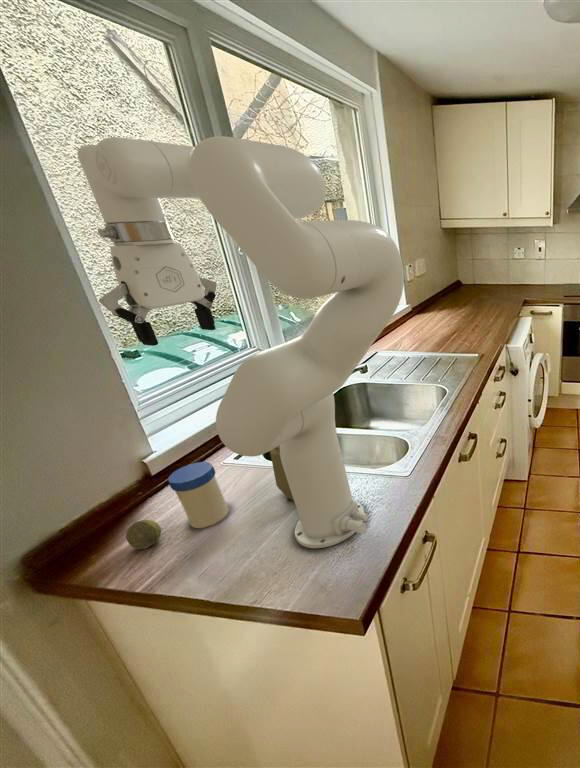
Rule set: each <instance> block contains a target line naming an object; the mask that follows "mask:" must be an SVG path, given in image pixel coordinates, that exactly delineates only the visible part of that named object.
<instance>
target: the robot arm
mask: <svg viewBox="0 0 580 768" xmlns="http://www.w3.org/2000/svg"><path fill="white" fill-rule="evenodd" d="M77 159H78V161H79V164H80V166H81V168H82V171H83V173H84V176H85V178H86V181H87V183H88V186H89V189H90V190H91V193H92V195H93V197H94V200H95V202H96V204H97V207H98V210H99V212H100V214H101V217H102V219H103V221H104V224H103V225H104V227H103V228H97V233H98V235H99V237H100V238H102V239H109V240H110V241H111V242H112V244H113V245H110V246H109V249H110V257H111V263H112V268H113V270H114V274H115V277H116V281H117V284H118V285H117V286H115V287H114V288H113V289H111V290H110V291H108V292H107V293H105V294H104V295H103V296H101V297H100V298H99V299H98V303H99V304H101V305H102V306H103V307H104V308H105V309H107V310H108V311H109V312H111V314H113V315H114V316H115V317H117V318H119V319H122V320H124V321H125V322H127V323H130V324H131V326H132V329H133V331H134V333H135V336H136V338H137V340H138V341H139V343H140V342H141V343H142V345H143V346H151V347H154V346H158V344H159V341H158V338H157V336H156V334H155V331H154V329H153V328H154V327H153V326H152V324H151V322H150V321H146V318H147V316H148V314H149V312H150V310H151V309H152V310H153V309H162V308H166V307H173V306H176V305H177V306H179V305H182V304H183V305H184V304H187V303H191V304H192V305H193V306H195V307H196V308H194V314H195V316H196V319H197V322H198V324H199V327H200V329H201V330H203V331H214V330H215V331H216V326H215V323H216V322H215V319H214V316H213V313H212V310H211V309H212V308H213V302H214V300H215V299H216V292H217V285H218V284H217V281H215V280H211V279H209V278H205V277H202V276H199V274H198V272H197V270H196V267H195V265H194V263H193V260H192V259H191V258H190V256H189V253H188V252H187V250H186V249H185V247H184V246H183V244H182V243H181V241H175V239H174V236H173V233H172V231H171V228H170V225H169V222H168V219H167V216H166V214H165V211H164V208H163V206H162V202H161V200H160V199H189V200H190V199H191V200H200V202H201V203H202V205H203V206H204V207H205V209H206V210H207V212H208V213H209V215H211V217H213V219H214V221H216V222H217V224H218V225H219V226H220V227H221V229H223V231H224V232H225V233H226V234H227V235H228V236H229V238H230V239H231V240H232V241H233V242H234V243H235V245H236V246H237V247H238V248H239V249H240V250H241V252H243V253H244V255H245V256H246V257H247V258H248V259H249V260H250V262H251V263H252V264H253V265H254V266H255V267H256V269H257V270H258V271H259V272H260V273H261V274H262V275H263V276H264V277H265V279H266V280H267V281H268V282H269V283H270V284H271V285H272V286H273V287H275V288H276V289H278V290H279V291H280V292H281V293H283V294H285V295H288V296H290V297H293V298H296V299H305V300H306V299H309V300H310V299H315V298H320V297H324V296H328V295H331V296H330V297H329V298H328V299H327V300H326V301H325V302H324V303H323V304H322V305H321V306H320V307H319V308H318V310H317V311H316V312H315V314H314V316H313V318H312V319H311V321H310V323H309V325H308V327H307V328H306V329H305V330H304V332H303V333H301V335H299V336H298V337H296V338H293V339H292V340H289V341H286V342H284V343H281V344H278V345H275V346H273V347H270V348H267V349H264V350H261V351H259V352H257V353H255V354H253V355H251V356H250V357H248V358H247V359H245V360H244V361H243V362H242V363H241V364H240V365H239V366H238V367H237V369H236V370H235V371H234V373H233V375H232V377H231V380H230V381H229V383H228V386H227V388H226V390H225V392H224V394H223V396H222V399H221V401H220V403H219V404H218V408H217V410H216V414H215V427H216V432H217V435H218V437H219V439H220V441H221V442H222V444H223V445H224V446H225V447H226V448H227V449H228V450H229V451H231V452H233V453H234V454H237V455H239V456H243V457H259V456H262V455H265V454H266V453H270V451H271V450H272V449H274V448H276V447H278V446H279V445H280V457H281V462H282V465H283V468H284V472H285V475H286V478H287V481H288V484H289V487H290V490H291V493H292V496H293V499H294V500H293V502H294V506H295V508H296V510H297V515H298V518H299V519H298V521H297V523H296V524H295V526H294V533H293V534H294V537H295V540H296V541H297V543H298V544H299V545H300V546H302V547H305V548H307V549H322V548H323V549H324V548H327V547H332V546H335V545H337V544H340V543H342V542H344V541H346V540H347V539H350V537H352V536H353V535H354V534H355V533H357V534H363V533H364V532H365V531H366V530H367V529H366V528H367V523H366V521H368V520H369V517H370V515H369V513H367V512H365V509H364V506H363V505H362V503H361V502H360V501H358V500H355V499H353V496H352V492H351V487H350V482H349V479H348V475H347V470H346V467H345V463H344V459H343V454H342V451H341V446H340V442H339V438H338V433H337V427H336V402H335V395H334V393H335V392H337V391H338V390H339V389H340V388H341V387H343V385H344V384H345V383H346V382H347V380H348V379H349V378H350V377H351V375H352V374H353V372H354V371H355V369H356V368H357V367H358V365H359V364H360V363H361V361H362V360H363V358H364V357H365V356H366V354H367V353H368V352H369V350H370V348H371V346H372V345H373V344H374V343H375V342H376V340H377V339H378V337H379V336H380V335H381V334H382V333H383V331H384V329H385V328H386V327H387V325H388V324H389V322H390V321H391V319H392V318H393V316H394V315H395V312H396V311H397V308H398V306H399V304H400V302H401V299H402V295H403V291H404V283H405V274H404V273H405V272H404V265H403V260H402V256H401V254H400V251H399V248H398V246H397V245H396V242H395V240H394V239H393V237H392V236H391V235H390V234H389V233H388V232H386V230H384V229H383V228H381V227H380V226H378V225H375V224H373V223H371V222H367V221H363V220H355V219H333V220H332V219H329V220H305V221H302V220H301V221H298V220H299V219H303V218H306V217H309V216H311V215H313V214H314V213H316V212H317V211H318V210H319V209H320V208H321V207H322V206H323V204H324V201H325V200H326V195H327V187H326V181H325V178H324V176H323V173H322V172H321V170H320V168H319V167H318V166H317V165H316V163H315V162H314V161H313V160H312V159H311V158H309V156H307V155H305V154H304V153H302V152H301V151H298V150H296V149H294V148H292V147H289V146H284V145H281V144H275V143H268V142H263V141H256V140H250V139H245V138H238V137H234V136H233V137H232V136H225V135H219V136H218V135H217V136H216V135H215V136H211V137H207V138H205V139H202V140H201V141H199V142H198V143H197V144H196V145H194V146H191V145H184V144H183V145H182V144H176V143H171V142H164V141H163V142H162V141H155V140H148V139H139V138H130V137H122V136H111V137H104V138H103V139H102V138H101V140H99V141H98V142H97V143H96V144H87V145H86V144H85V145H83V146H81V147H79V148H78V150H77ZM122 298H123V299H124V300H125V303H126V304H127V305H128V306H129V308H128V309H126V308H123V307H122V306H121V304H119V301H120V300H121V299H122Z"/></svg>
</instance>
